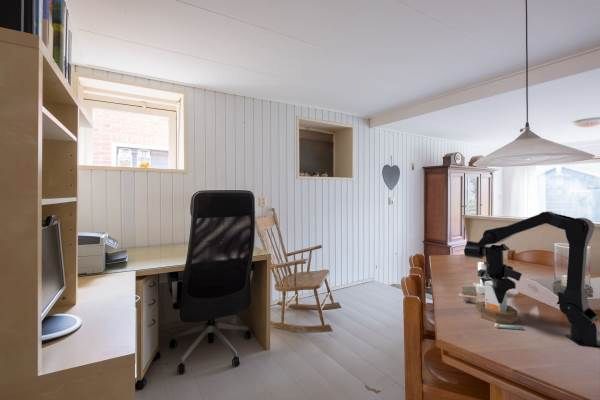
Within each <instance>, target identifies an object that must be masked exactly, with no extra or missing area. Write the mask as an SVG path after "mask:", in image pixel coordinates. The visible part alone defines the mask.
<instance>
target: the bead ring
mask: <svg viewBox="0 0 600 400" xmlns="http://www.w3.org/2000/svg"><path fill="white" fill-rule="evenodd" d="M475 314H476V315H478V316H479V317H480V318H481V319H483V320H487V321H490V322H493V323H496V324H513V323H515V322H517V321H518V320H519V319H518V318H519V316H518V310H516V309H515V308H514V307H513V306H511V305H508V304H507V312H500V311H493V310H490V309H486V308H485V301H480V302H477V303H475Z"/></svg>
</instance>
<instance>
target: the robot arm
mask: <svg viewBox="0 0 600 400" xmlns="http://www.w3.org/2000/svg"><path fill="white" fill-rule="evenodd" d="M546 224H547V225H550V226H552V227H555V228H557V229H561V230H563V231H564V232H565V238H566V241H567V243H568V247H569V248H568V255H567V256H568V259H567V273H566V275H567V276H566V287H565V288H562V289H561V290H559V291H558V292H557V297H558V298H557V299H558V301H557V303H556V305H558V307H559V310H560V312H562V313H563V314H564V315H565V316H566V318H567V321H568V322H569V332H570V334H568V333H565V334H564V336H565V337H566V338H568V339H569V340H571V341H572V342H573V343H575V344H577V345H580V346H588V347H600V342H599V341H598V333H597V332H598V331H597V330H598V329H597V328H598V327H597V324H596V322H597V320H598V319H599V314H597V313H596V311H594V310H593V309H592V308H591V307H590V306H589V305H590V304H589V301H588V295H587V293H586V290H585V281H586V269H587V253H588V251H587V250H588V245H589V243H590V241H591V239H592V236H593V234H594V230H595V223H594V222H593V221H592V220H591V219H588V218H586V217H571V216H568V215H564V214H560V213H555V212H553V211H549V210H548V211H541V212H539V213H538V214H536V215H533V216H531V217H528V218H525V219H523V220H519V221H515V223H511V224H508V225H506V226H499V227H495V228H491V229H486V230H484V231H483V233H482V237H481V239H480V240H479V241H473V240H468V241H466V244H465V245H464V246H465V247H464V250H463V252H464V255H465V257H467V258H474V259H479V260H480V259H481V260H482V259H484V258H485V261H483V263H484V264H485V265H486V269H480V270H479V271H478V270H477V277H479V279H481V280H482V282H483V284H484V286H485V281H491V280H492V283H493V285H491V286H492V288H493V291H494V293H495V296H496V298H497V301H498V303H500V304H502V302H503V299H504V296H505V294H507V292H508V291H509V290H516V288H517V286H516V284H517V283H516V282H515V281H517V282H520V280H521V278H522V275H523V273H522V272H519V271H517V270H514V268H513V266H510V265H507V264H505V263H504V252H505V251H506V252H507V251H509V250H510V247H508V245H506V244H505V243H503V242H504V241H506V240H508V239H509V238H511V237H513V236H515V235H517V234H520V233H522V232H526V231H528V230H531V229H534V228H537V227H540V226H543V225H546ZM500 243H501V244H500ZM497 244H500V245H497ZM489 245H490V246H489ZM480 277H482V278H480ZM512 279H514V280H515V281H514V280H512Z"/></svg>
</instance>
